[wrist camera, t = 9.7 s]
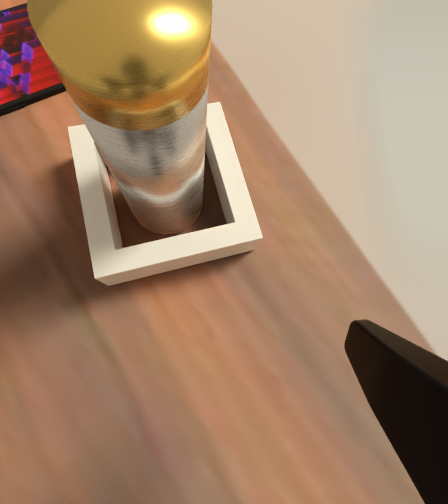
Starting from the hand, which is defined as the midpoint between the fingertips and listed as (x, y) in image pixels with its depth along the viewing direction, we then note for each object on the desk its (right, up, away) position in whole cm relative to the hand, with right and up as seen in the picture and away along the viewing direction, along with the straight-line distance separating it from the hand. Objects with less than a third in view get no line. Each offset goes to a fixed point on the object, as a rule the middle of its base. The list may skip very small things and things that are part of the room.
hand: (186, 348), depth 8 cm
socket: (-3, +6, +11) cm, 13 cm away
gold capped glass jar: (-3, +6, +11) cm, 13 cm away
